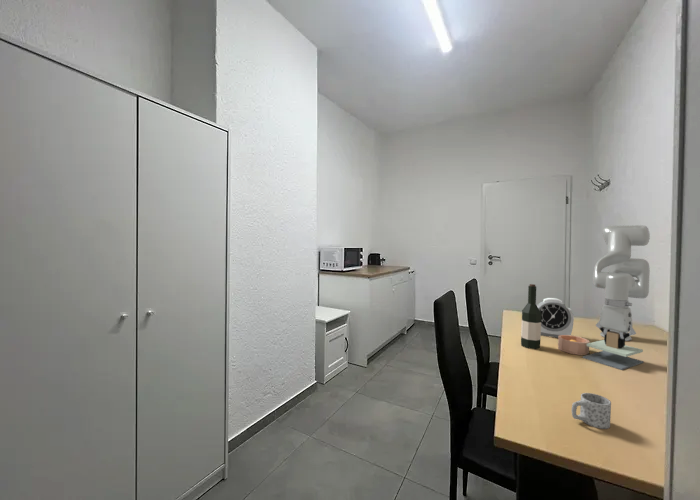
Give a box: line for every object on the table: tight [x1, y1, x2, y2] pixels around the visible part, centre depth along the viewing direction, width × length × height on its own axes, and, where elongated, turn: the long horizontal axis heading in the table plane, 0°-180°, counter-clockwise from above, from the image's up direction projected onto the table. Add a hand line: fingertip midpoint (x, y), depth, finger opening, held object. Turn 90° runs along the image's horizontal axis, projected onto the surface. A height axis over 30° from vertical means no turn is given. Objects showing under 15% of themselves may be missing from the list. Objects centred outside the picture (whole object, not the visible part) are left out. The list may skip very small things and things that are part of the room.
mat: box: [582, 350, 645, 371], centre depth 133 cm, size 18×14×1 cm
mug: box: [571, 392, 612, 430], centre depth 87 cm, size 10×7×7 cm, turn 92°
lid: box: [587, 331, 644, 357], centre depth 133 cm, size 14×14×7 cm
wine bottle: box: [520, 283, 542, 350], centre depth 149 cm, size 8×8×30 cm
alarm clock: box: [536, 297, 575, 339], centre depth 166 cm, size 18×8×20 cm, turn 62°
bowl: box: [557, 334, 590, 356], centre depth 144 cm, size 12×12×6 cm
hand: (614, 345), depth 133 cm, fingers closed on lid, 4 cm apart
